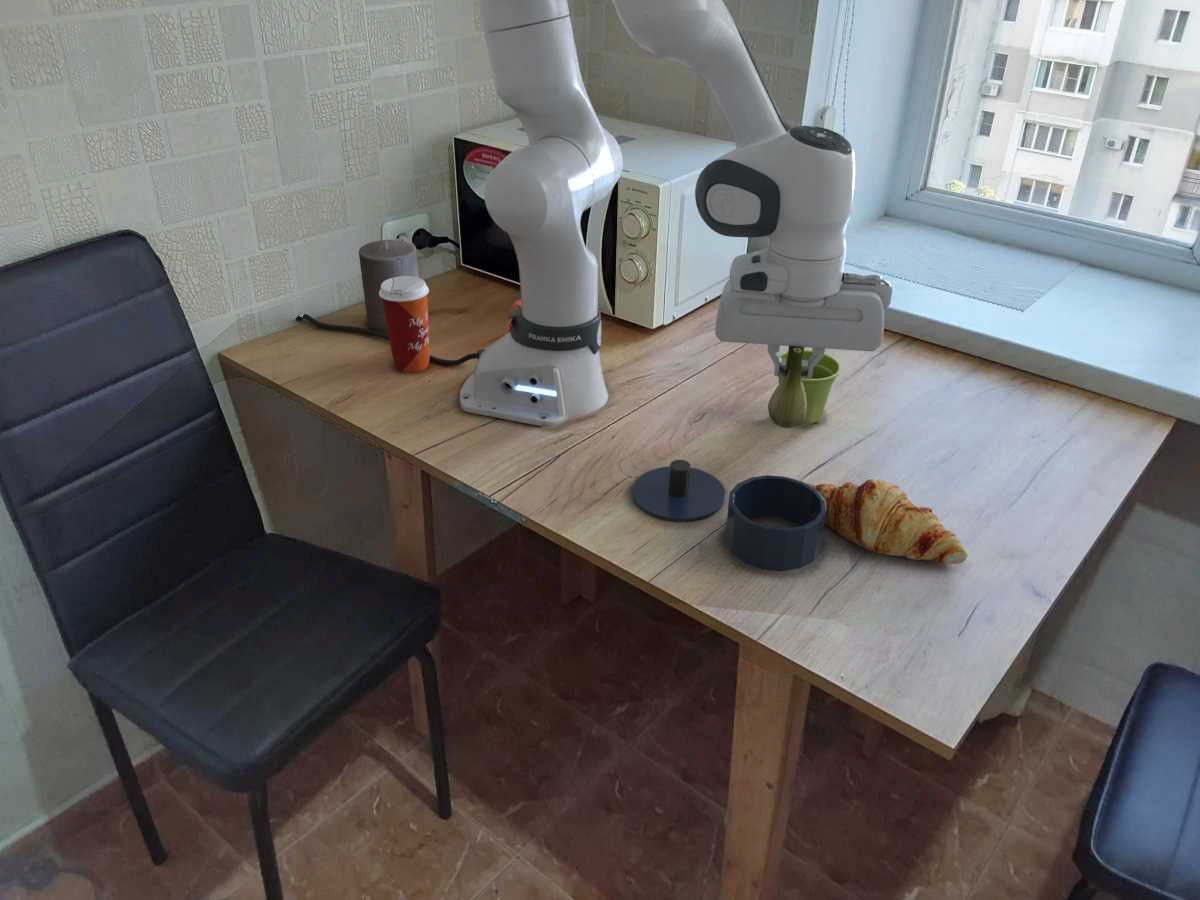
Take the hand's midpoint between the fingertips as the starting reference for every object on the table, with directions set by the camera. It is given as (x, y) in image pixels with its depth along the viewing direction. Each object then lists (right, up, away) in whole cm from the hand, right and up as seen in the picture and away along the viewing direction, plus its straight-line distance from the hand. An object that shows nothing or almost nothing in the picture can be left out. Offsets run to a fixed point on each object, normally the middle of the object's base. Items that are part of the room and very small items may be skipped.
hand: (792, 375), depth 121 cm
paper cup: (-55, +4, +35) cm, 65 cm away
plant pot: (+5, -5, +21) cm, 22 cm away
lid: (-14, -15, +3) cm, 21 cm away
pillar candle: (-60, +13, +49) cm, 79 cm away
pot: (-4, -21, -5) cm, 22 cm away
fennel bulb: (0, -6, +4) cm, 7 cm away
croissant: (+10, -20, -4) cm, 23 cm away
